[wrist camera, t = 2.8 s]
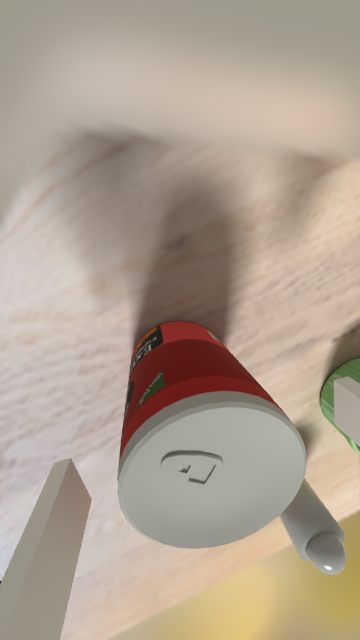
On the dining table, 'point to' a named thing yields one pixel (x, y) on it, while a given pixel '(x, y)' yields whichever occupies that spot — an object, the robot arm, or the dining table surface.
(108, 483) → the dining table surface
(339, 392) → the robot arm
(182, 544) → the canned food
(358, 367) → the ramekin
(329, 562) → the pepper pot
